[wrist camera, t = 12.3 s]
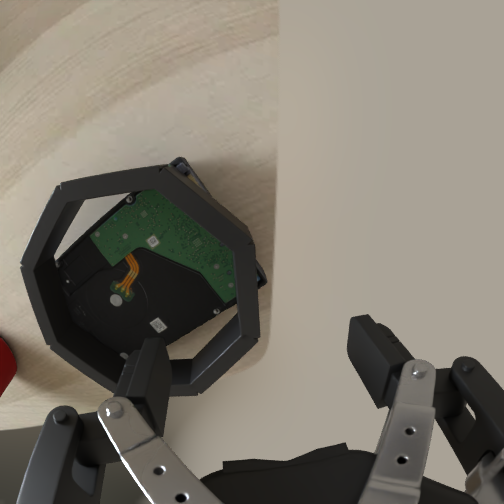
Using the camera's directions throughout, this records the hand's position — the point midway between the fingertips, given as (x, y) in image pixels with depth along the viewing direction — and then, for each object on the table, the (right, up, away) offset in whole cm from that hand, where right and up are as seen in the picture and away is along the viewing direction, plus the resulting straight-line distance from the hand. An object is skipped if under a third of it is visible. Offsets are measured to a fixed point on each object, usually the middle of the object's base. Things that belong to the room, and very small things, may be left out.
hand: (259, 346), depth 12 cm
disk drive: (-8, +3, +10) cm, 13 cm away
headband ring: (-8, +2, +7) cm, 11 cm away
